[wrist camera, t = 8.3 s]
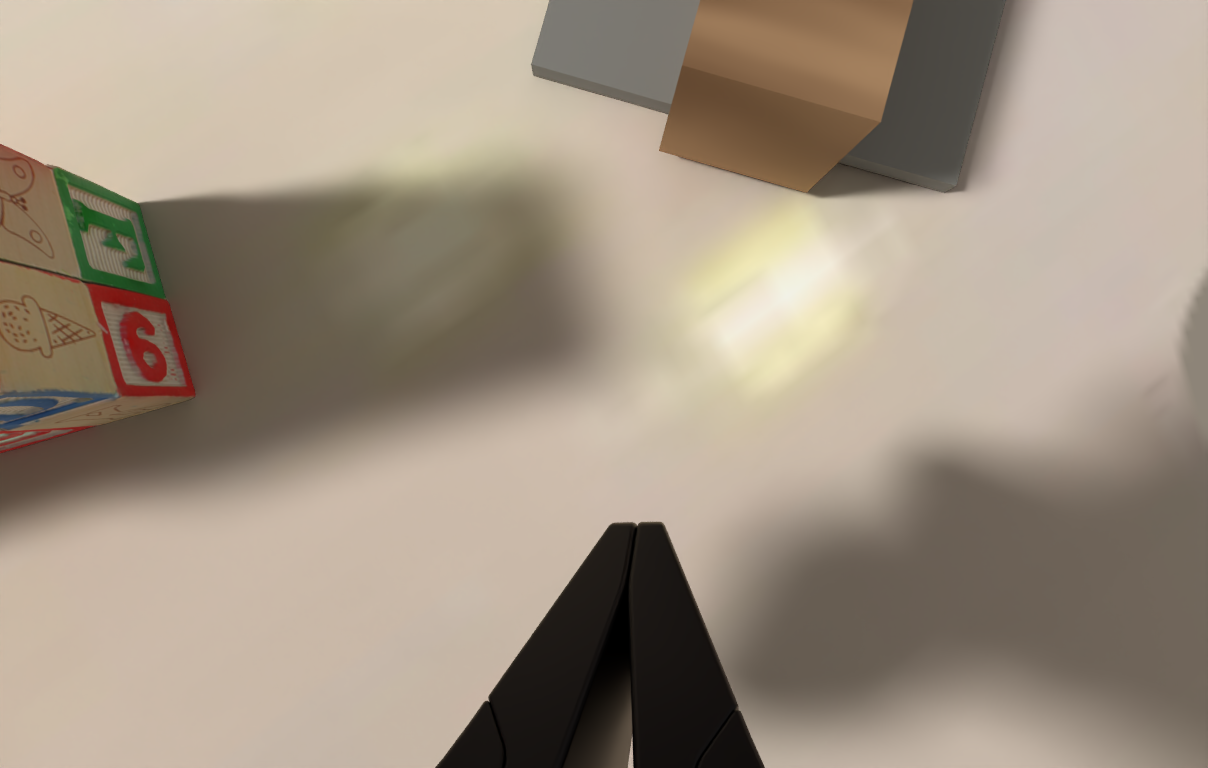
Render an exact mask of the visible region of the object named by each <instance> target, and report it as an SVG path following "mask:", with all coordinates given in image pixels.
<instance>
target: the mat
mask: <svg viewBox="0 0 1208 768" xmlns="http://www.w3.org/2000/svg"><path fill="white" fill-rule="evenodd" d="M1005 1H1006V0H913V4H912V8H911V12H910V15H909V19H908V23H907V26H906V30H905V34H904V38H903V41H902V45H901V49H900V52H899V56H898V60H897V63H896V67H895V71H894V75H893V78H892V82H891V86H890V89H889V93H888V97H887V100H886V104H885V108H884V112H883V115H882V119H881V122H880V123H879V124H878V125H877V126H876V127H875V128H874V129H873V130H872V131H871V132H870V133H869V134H868V135H867V136H866V137H864V138H863V139H862V140H861V141H860V142H859V143H858V144H857V145H856V146H855V147H854V148H853V149H852V150H851V151H850V152H849V153H848V154H847V155H846V156H844V157H843V158H842V159H841V160H840V161H839V163H842V164H846V165H849V166H853V167H856V168H860V169H863V170H867V171H870V172H874V173H877V174H881V175H884V176H888V177H891V178H895V179H898V180H902V181H905V182H909V183H912V184H916V185H919V186H923V187H926V188H930V189H933V190H937V191H940V192H944V193H945V192H947V191H948V190H950V189H952V188H953V187H955V186H957V182H958V178H959V174H960V170H961V167H962V163H963V159H964V155H965V152H966V148H967V144H968V140H969V137H970V133H971V129H972V125H973V122H974V118H975V114H976V110H977V107H978V103H979V99H980V95H981V92H982V88H983V84H984V80H985V76H986V73H987V69H988V65H989V61H990V58H991V54H992V50H993V46H994V43H995V39H996V35H997V31H998V28H999V24H1000V20H1001V16H1002V13H1003V9H1004V5H1005ZM699 3H700V0H550V1H549V4H548V8H547V11H546V15H545V18H544V22H543V25H542V29H541V32H540V36H539V39H538V43H537V46H536V50H535V53H534V57H533V60H532V64H531V65H532V71H533V75H534V76H537V77H541V78H544V79H548V80H551V81H555V82H558V83H562V84H565V85H569V86H572V87H576V88H579V89H583V90H586V91H590V92H593V93H597V94H600V95H604V96H607V97H611V98H614V99H618V100H621V101H625V102H628V103H632V104H635V105H639V106H642V107H646V108H649V109H653V110H656V111H660V112H663V113H667V114H669V112H670V108H671V104H672V101H673V97H674V93H675V89H676V86H677V82H678V78H679V75H680V71H681V67H682V64H683V60H684V56H685V53H686V49H687V46H688V42H689V39H690V35H691V31H692V28H693V24H694V21H695V17H696V13H697V10H698V6H699Z"/></svg>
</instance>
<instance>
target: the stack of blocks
mask: <svg viewBox="0 0 1208 768" xmlns="http://www.w3.org/2000/svg"><path fill="white" fill-rule="evenodd" d="M194 397H195V390H194V387H193V384H192V380H191V377H190V374H189V370H188V366H187V363H186V359H185V356H184V353H183V349H182V346H181V342H180V339H179V336H178V333H177V329H176V326H175V322H174V319H173V316H172V312H171V308H170V305H169V303H168V301H167V300H166V297H165V294H164V291H163V287H162V284H161V280H160V277H159V273H158V270H157V266H156V263H155V259H154V256H153V252H152V249H151V245H150V242H149V238H148V235H147V231H146V228H145V224H144V221H143V217H142V213H141V209H140V206H139V204H138V203H136V202H134V201H132V200H130V199H127V198H125V197H123V196H121V195H119V194H117V193H115V192H112V191H110V190H108V189H106V188H104V187H102V186H100V185H98V184H95V183H93V182H91V181H89V180H87V179H84V178H82V177H80V176H77V175H75V174H72V173H70V172H68V171H66V170H64V169H62V168H60V167H57V166H52V165H44V164H42V163H40V162H39V161H37V160H35V159H32V158H30V157H28V156H26V155H24V154H21V153H19V152H17V151H15V150H13V149H11V148H8V147H6V146H4V145H2V144H0V453H3V452H6V451H10V450H13V449H17V448H21V447H24V446H28V445H31V444H34V443H38V442H41V441H45V440H48V439H52V438H55V437H59V436H62V435H66V434H69V433H73V432H76V431H80V430H83V429H86V428H90V427H93V426H97V425H103V424H107V423H110V422H114V421H117V420H121V419H124V418H128V417H132V416H135V415H139V414H142V413H146V412H149V411H153V410H156V409H159V408H163V407H166V406H170V405H173V404H177V403H180V402H184V401H187V400H190V399H192V398H194Z"/></svg>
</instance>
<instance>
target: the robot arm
mask: <svg viewBox="0 0 1208 768" xmlns="http://www.w3.org/2000/svg"><path fill="white" fill-rule="evenodd" d="M488 698H489V701H485V702H484V703H483V704H482V706H481V707H480V709H479V710H478V711H477V713H476V714H475V716H474V717H473V719H472V720H471V721H470V723H469V724H468V726H467V727H466V728H465V730H464V731H463V732H462V734H461V735H460V736H459V738H458V739H457V740H456V742H455V743H454V744H453V746H452V747H451V748H450V750H449V751H448V752H447V754H446V755H445V756H444V758H443V759H442V760H441V761H440V763H439V764H438V765H437V766H436V767H435V768H628V761H629V753H630V746H631V739H632V737H633V766H634V768H765V767H764V765H763V762H762V760H761V758H760V756H759V753H758V751H757V749H756V747H755V744H754V742H753V740H752V738H751V735H750V733H749V730H748V728H747V725H746V723H745V720H744V718H743V716H742V713H741V711H739V710H738V704H737V702H736V699H735V697H734V694H733V692H732V689H731V687H730V684H729V682H728V679H727V677H726V675H725V672H724V670H723V667H722V665H721V662H720V660H719V657H718V655H717V652H716V650H715V648H714V645H713V643H712V640H711V638H710V635H709V633H708V630H707V628H706V625H705V623H704V621H703V618H702V616H701V613H700V611H699V608H698V606H697V603H696V601H695V598H694V596H693V594H692V591H691V589H690V586H689V584H688V581H687V579H686V576H685V574H684V571H683V569H682V567H681V564H680V562H679V559H678V557H677V554H676V552H675V549H674V547H673V545H672V542H671V540H670V537H669V535H668V532H667V530H666V527H665V525H664V524H663V523H662V522H640V523H639V524H638V526H637V525H636V524H635V523H633V522H623V523H612V524H611V525H609V527H608V528H607V529H606V531H605V532H604V534H603V535H602V537H601V538H600V539H599V541H598V542H597V544H596V545H595V546H594V548H593V549H592V551H591V552H590V554H589V555H588V556H587V558H586V559H585V561H584V562H583V563H582V565H581V566H580V568H579V569H578V570H577V572H576V573H575V575H574V576H573V578H572V579H571V580H570V582H569V583H568V585H567V586H566V587H565V589H564V590H563V592H562V593H561V595H560V596H559V597H558V599H557V600H556V602H555V603H554V604H553V606H552V607H551V609H550V610H549V611H548V613H547V614H546V616H545V617H544V619H543V620H542V621H541V623H540V624H539V626H538V627H537V628H536V630H535V631H534V633H533V634H532V636H531V637H530V638H529V640H528V641H527V643H526V644H525V645H524V647H523V648H522V650H521V651H520V652H519V654H518V655H517V657H516V658H515V660H514V661H513V662H512V664H511V665H510V667H509V668H508V669H507V671H506V672H505V674H504V675H503V676H502V678H501V679H500V681H499V682H498V684H497V685H496V686H495V688H494V689H493V691H492V692H491V693H490V695H489V697H488Z"/></svg>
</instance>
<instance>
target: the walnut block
mask: <svg viewBox="0 0 1208 768" xmlns="http://www.w3.org/2000/svg"><path fill="white" fill-rule="evenodd" d="M912 4H913V0H700V3H699V6H698V10H697V13H696V17H695V21H694V24H693V28H692V31H691V35H690V39H689V42H688V46H687V49H686V53H685V56H684V60H683V64H682V67H681V71H680V75H679V78H678V82H677V86H676V89H675V93H674V97H673V101H672V104H671V108H670V112H669V115H668V119H667V123H666V126H665V130H664V134H663V138H662V141H661V145H660V149H659V151H662V152H665V153H669V154H672V155H676V156H679V157H683V158H686V159H690V160H693V161H697V162H700V163H704V164H707V165H711V166H715V167H718V168H722V169H725V170H729V171H732V172H736V173H739V174H743V175H746V176H750V177H753V178H757V179H760V180H764V181H767V182H771V183H774V184H778V185H781V186H785V187H788V188H792V189H795V190H799V191H802V192H806V193H807V192H808V191H809V190H810V189H811V188H812V187H813V186H814V185H815V184H816V183H817V182H818V181H819V180H820V179H821V178H822V177H823V176H825V175H826V174H827V173H828V172H829V171H830V170H831V169H832V168H833V167H834V166H835V165H836V164H837V163H838V162H839V161H840V160H841V159H842V158H843V157H844V156H846V155H847V154H848V153H849V152H850V151H851V150H852V149H853V148H854V147H855V146H856V145H857V144H858V143H859V142H860V141H861V140H862V139H863V138H864V137H866V136H867V135H868V134H869V133H870V132H871V131H872V130H873V129H874V128H875V127H876V126H877V125H878V124H879V123H880V122H881V119H882V115H883V112H884V108H885V104H886V100H887V97H888V93H889V89H890V86H891V82H892V78H893V75H894V71H895V67H896V63H897V60H898V56H899V52H900V49H901V45H902V41H903V38H904V34H905V30H906V26H907V23H908V19H909V15H910V12H911V8H912Z"/></svg>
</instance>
